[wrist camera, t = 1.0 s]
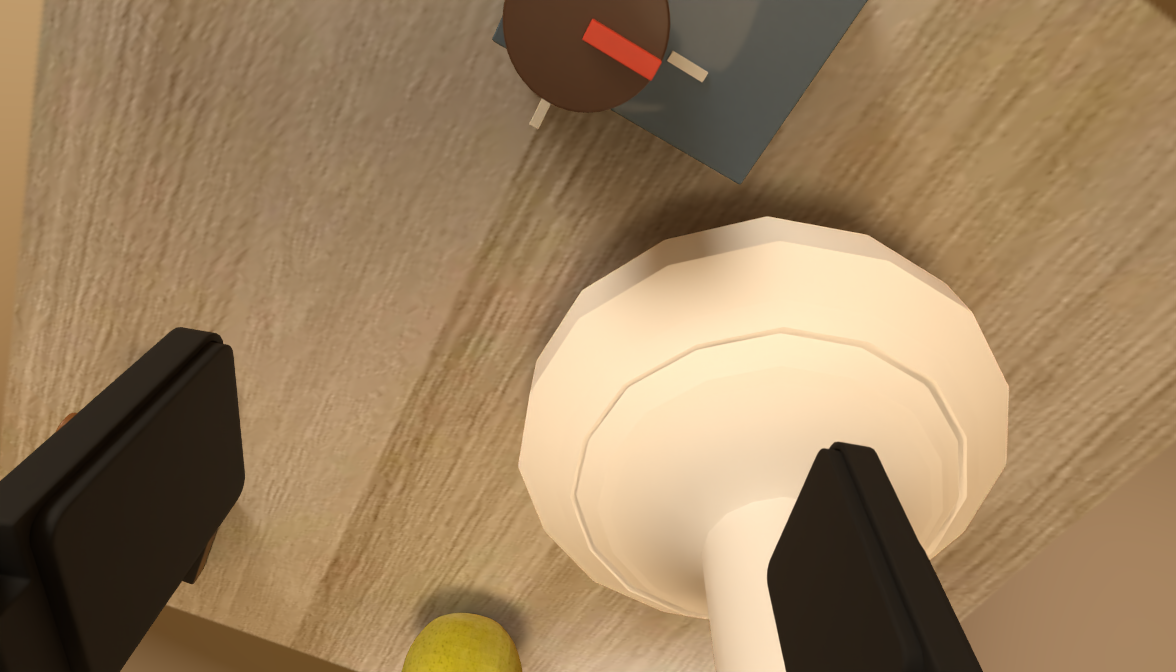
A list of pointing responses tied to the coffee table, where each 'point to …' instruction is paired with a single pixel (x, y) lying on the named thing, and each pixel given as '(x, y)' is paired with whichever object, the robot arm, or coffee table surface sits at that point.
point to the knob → (586, 48)
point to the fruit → (462, 646)
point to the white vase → (751, 413)
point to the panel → (732, 75)
